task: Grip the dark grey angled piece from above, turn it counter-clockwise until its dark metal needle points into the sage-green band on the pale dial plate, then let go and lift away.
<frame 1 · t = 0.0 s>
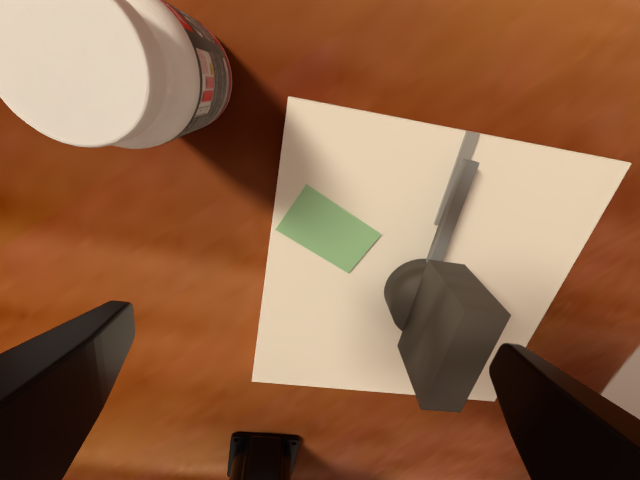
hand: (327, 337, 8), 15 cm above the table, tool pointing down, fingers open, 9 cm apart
pill bottle: (182, 75, 18), on the table
dial plate: (412, 279, 25), on the table
dark grey angled piece: (453, 280, 19), point 5 cm above the table, hinge at 0.0°
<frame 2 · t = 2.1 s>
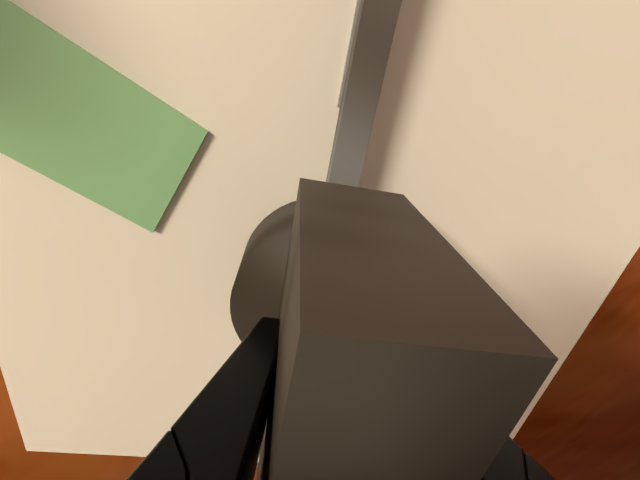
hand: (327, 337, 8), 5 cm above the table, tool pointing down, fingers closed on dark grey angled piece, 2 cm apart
dial plate: (317, 251, 12), on the table
dark grey angled piece: (357, 231, 6), point 5 cm above the table, hinge at 0.0°, touching gripper
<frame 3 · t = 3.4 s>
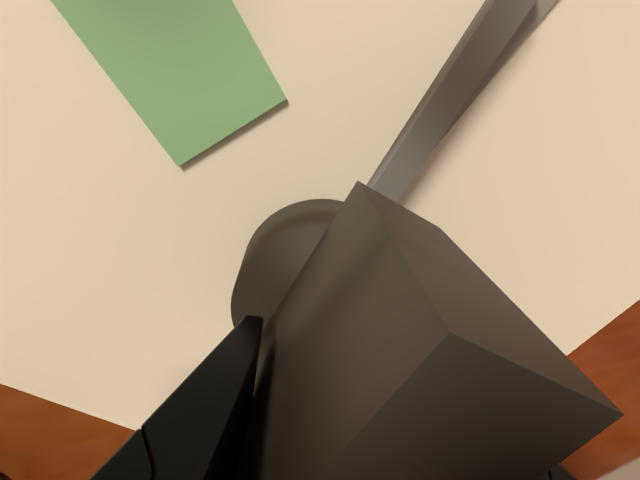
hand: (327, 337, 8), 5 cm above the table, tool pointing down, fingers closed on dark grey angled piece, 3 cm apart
dial plate: (318, 252, 12), on the table
dark grey angled piece: (405, 248, 7), point 5 cm above the table, hinge at 5.6°, touching gripper
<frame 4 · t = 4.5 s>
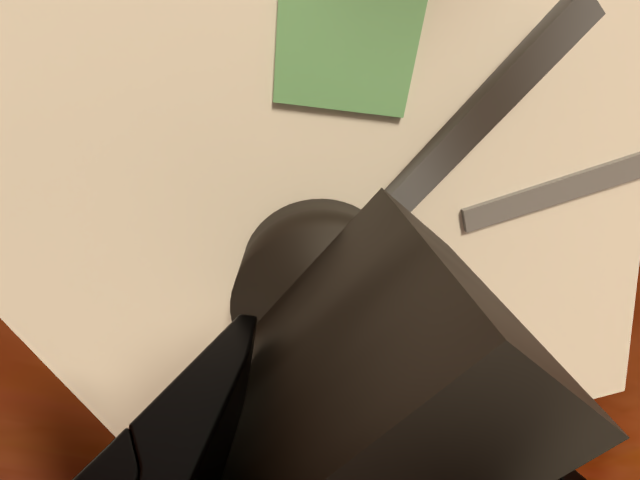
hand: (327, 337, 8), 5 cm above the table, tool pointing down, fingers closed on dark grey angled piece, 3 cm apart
dial plate: (317, 252, 12), on the table
dark grey angled piece: (421, 260, 7), point 5 cm above the table, hinge at 31.7°, touching gripper
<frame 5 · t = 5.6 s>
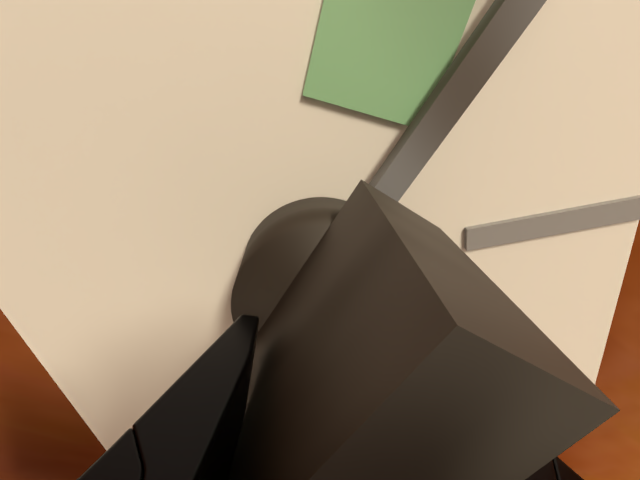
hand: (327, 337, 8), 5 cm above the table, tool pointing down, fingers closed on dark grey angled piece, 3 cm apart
dial plate: (317, 251, 12), on the table
dark grey angled piece: (407, 247, 7), point 5 cm above the table, hinge at 48.2°, touching gripper
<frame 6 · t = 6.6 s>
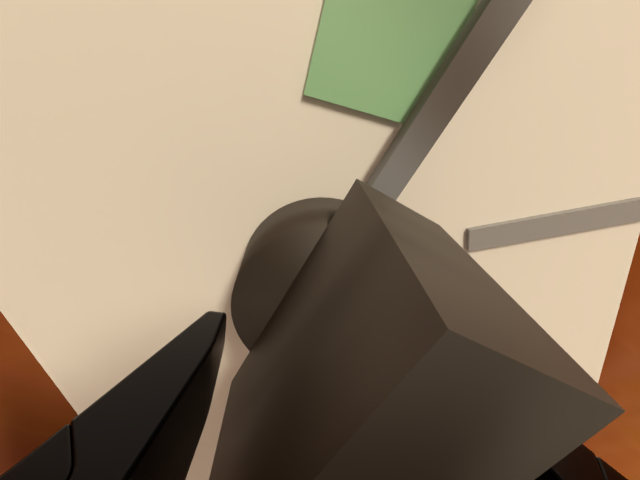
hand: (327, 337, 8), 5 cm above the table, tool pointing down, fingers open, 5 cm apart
dial plate: (318, 251, 12), on the table
dark grey angled piece: (404, 246, 7), point 5 cm above the table, hinge at 50.4°
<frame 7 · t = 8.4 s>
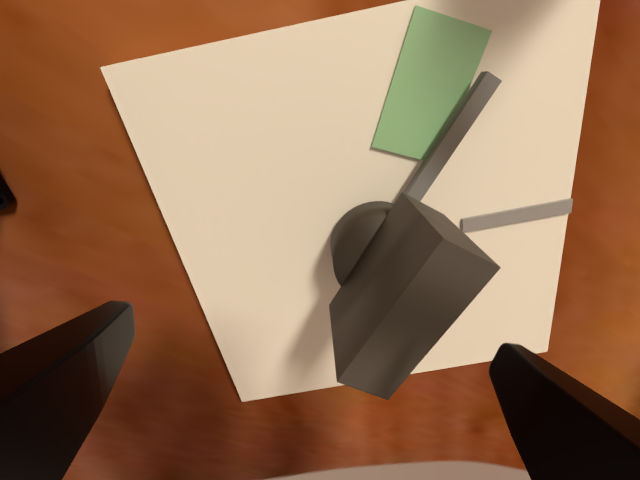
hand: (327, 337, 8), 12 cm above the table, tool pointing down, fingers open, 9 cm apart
dial plate: (370, 233, 20), on the table
dark grey angled piece: (427, 223, 14), point 5 cm above the table, hinge at 51.6°
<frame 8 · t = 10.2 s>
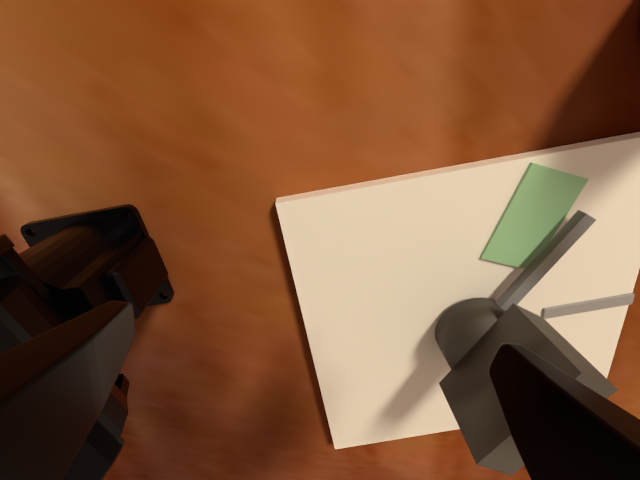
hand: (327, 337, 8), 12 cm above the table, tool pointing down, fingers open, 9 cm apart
dial plate: (462, 315, 23), on the table
dark grey angled piece: (538, 333, 18), point 5 cm above the table, hinge at 51.7°
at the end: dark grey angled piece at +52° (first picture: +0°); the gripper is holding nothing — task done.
